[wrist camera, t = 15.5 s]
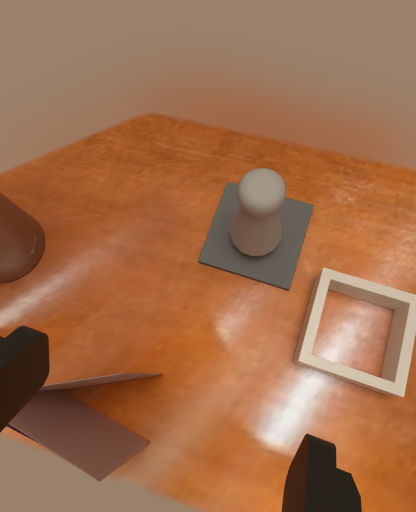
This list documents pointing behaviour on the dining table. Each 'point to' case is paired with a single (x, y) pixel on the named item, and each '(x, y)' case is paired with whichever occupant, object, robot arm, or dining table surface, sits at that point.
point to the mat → (257, 267)
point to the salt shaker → (258, 212)
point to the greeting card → (79, 427)
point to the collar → (399, 342)
